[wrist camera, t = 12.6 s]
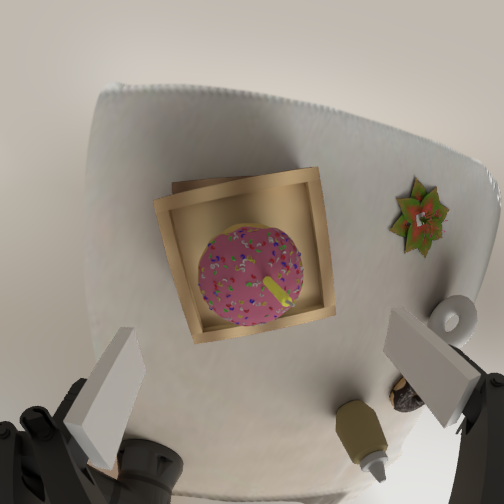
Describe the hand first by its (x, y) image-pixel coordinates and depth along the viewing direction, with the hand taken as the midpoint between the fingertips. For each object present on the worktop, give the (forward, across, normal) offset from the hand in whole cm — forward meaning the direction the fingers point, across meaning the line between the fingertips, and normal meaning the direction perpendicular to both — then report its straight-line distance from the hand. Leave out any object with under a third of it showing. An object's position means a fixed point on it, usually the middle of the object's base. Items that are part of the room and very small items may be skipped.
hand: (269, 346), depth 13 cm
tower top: (+18, 0, 0) cm, 18 cm away
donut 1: (+23, +33, -31) cm, 51 cm away
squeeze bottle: (+23, +18, -33) cm, 45 cm away
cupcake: (+14, 0, 0) cm, 14 cm away
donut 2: (+23, +32, -13) cm, 42 cm away
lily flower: (+23, +26, +2) cm, 35 cm away
